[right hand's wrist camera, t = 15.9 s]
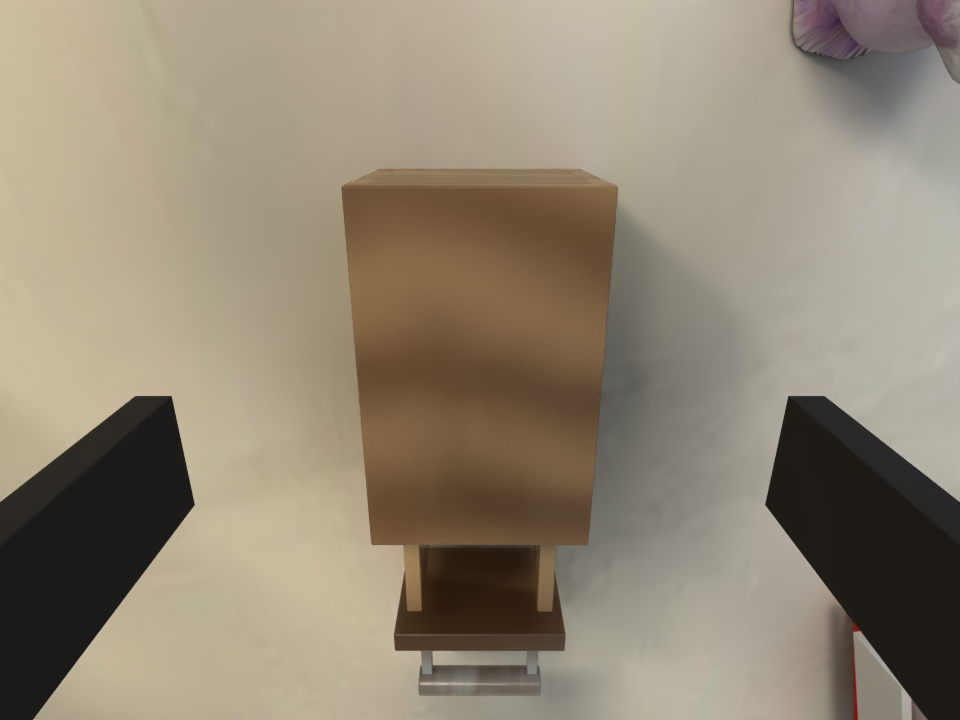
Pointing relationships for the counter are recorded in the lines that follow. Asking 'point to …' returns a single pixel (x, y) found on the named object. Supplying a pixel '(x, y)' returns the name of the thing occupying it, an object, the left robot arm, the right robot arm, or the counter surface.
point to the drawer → (479, 615)
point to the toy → (878, 687)
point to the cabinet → (479, 350)
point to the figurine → (879, 28)
